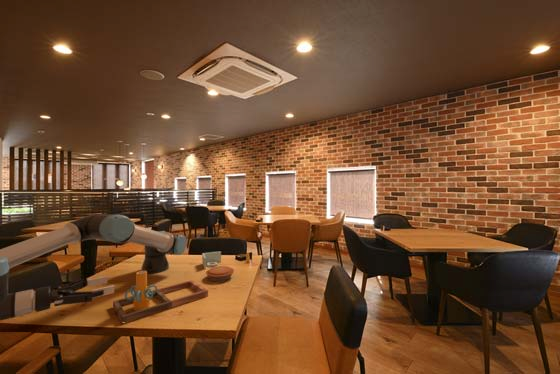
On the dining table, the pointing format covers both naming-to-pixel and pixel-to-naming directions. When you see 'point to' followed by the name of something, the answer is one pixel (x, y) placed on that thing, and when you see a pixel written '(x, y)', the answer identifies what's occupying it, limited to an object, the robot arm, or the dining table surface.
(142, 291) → the orange post with rings
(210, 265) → the right angle wall
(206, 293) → the rail frame
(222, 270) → the pie
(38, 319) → the dining table surface
